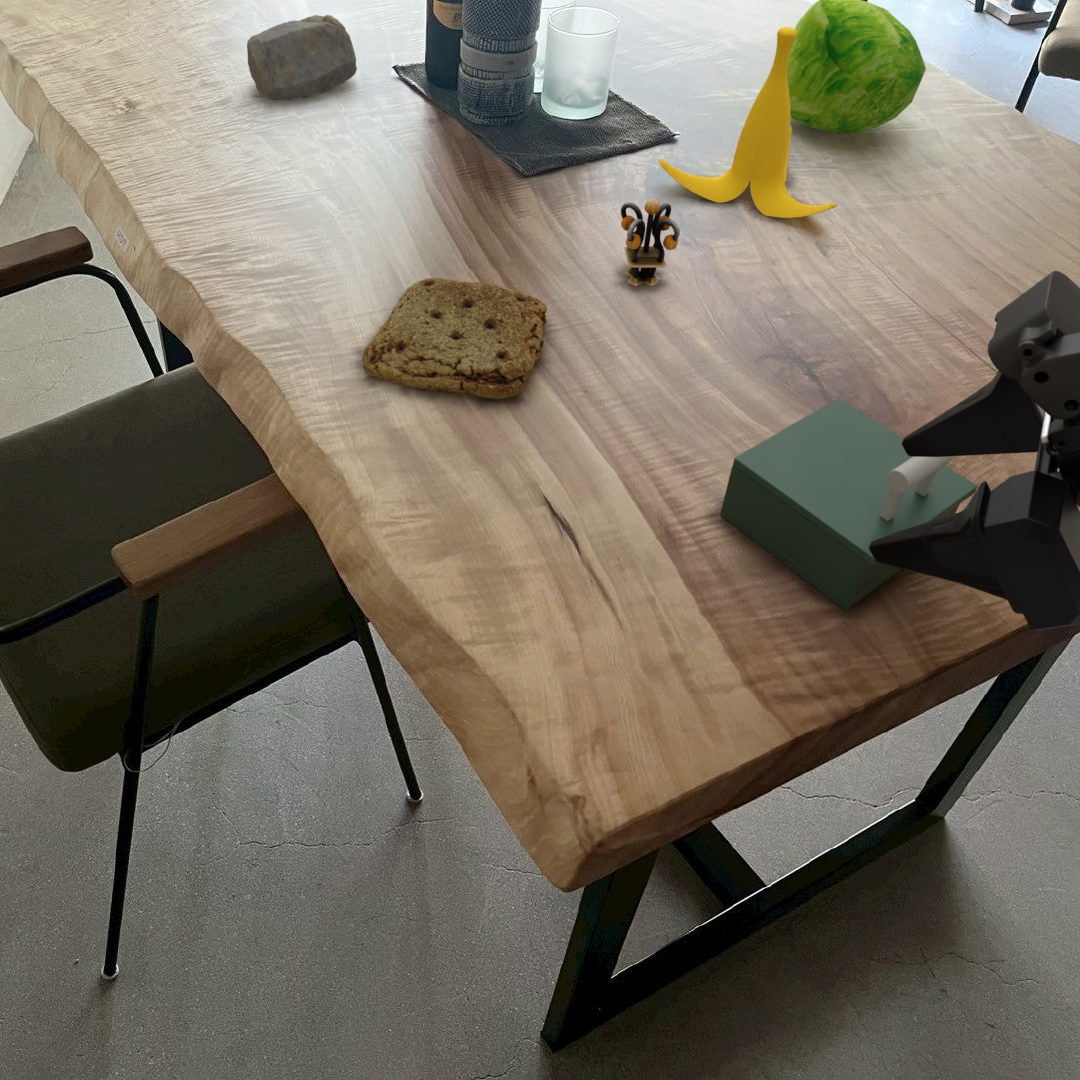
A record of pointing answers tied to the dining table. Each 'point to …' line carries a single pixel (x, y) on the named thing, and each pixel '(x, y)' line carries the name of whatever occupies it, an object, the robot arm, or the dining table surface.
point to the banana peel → (760, 149)
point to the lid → (853, 477)
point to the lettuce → (851, 67)
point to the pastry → (459, 338)
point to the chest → (801, 542)
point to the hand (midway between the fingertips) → (889, 497)
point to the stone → (301, 58)
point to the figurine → (647, 240)
